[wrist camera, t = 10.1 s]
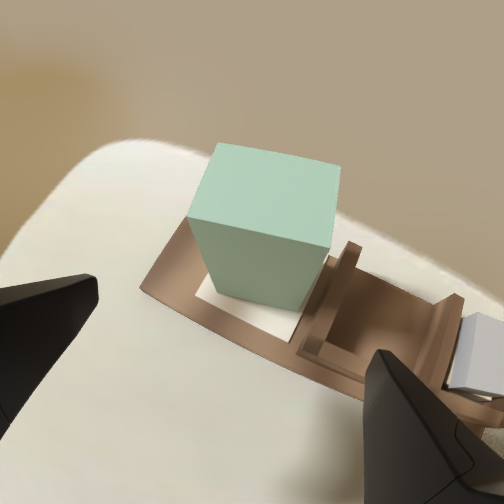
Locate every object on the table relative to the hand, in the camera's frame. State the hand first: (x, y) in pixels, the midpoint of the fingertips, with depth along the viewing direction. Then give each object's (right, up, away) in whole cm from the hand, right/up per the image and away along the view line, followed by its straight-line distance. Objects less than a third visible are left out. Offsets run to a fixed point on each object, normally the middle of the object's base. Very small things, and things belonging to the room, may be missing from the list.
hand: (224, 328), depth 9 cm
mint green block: (+2, +1, +12) cm, 13 cm away
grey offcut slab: (+17, -6, +7) cm, 19 cm away
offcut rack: (+8, -3, +12) cm, 14 cm away
